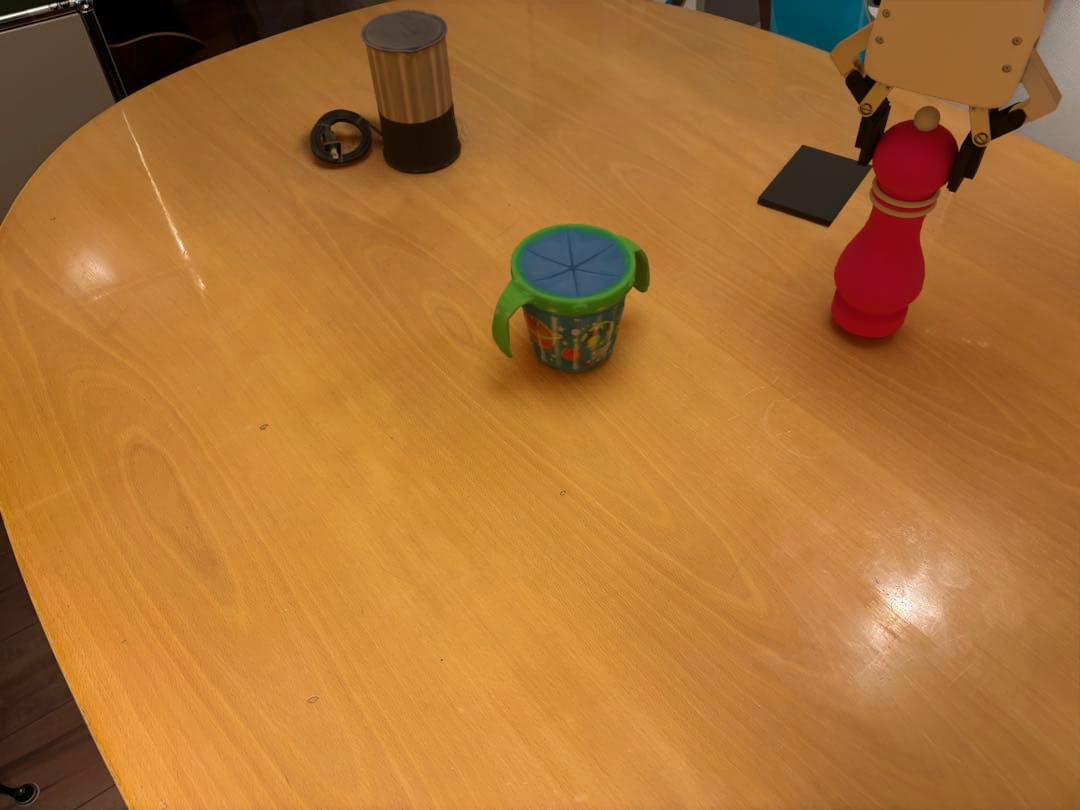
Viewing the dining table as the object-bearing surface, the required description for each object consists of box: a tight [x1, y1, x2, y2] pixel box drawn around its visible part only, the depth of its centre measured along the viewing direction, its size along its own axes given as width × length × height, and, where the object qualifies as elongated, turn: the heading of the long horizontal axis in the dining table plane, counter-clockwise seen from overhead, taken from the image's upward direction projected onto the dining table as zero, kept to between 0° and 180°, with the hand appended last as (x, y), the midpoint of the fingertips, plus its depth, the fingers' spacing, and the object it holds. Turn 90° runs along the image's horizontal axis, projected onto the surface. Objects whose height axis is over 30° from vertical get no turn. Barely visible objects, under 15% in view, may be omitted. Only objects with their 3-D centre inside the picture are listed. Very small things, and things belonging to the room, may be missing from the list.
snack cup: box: [491, 223, 651, 375], centre depth 76 cm, size 16×10×10 cm
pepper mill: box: [830, 105, 960, 338], centre depth 70 cm, size 7×7×20 cm
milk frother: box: [309, 8, 462, 173], centre depth 97 cm, size 14×16×15 cm
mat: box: [757, 144, 873, 228], centre depth 93 cm, size 20×12×1 cm, turn 56°
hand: (911, 167), depth 66 cm, fingers closed on pepper mill, 6 cm apart
